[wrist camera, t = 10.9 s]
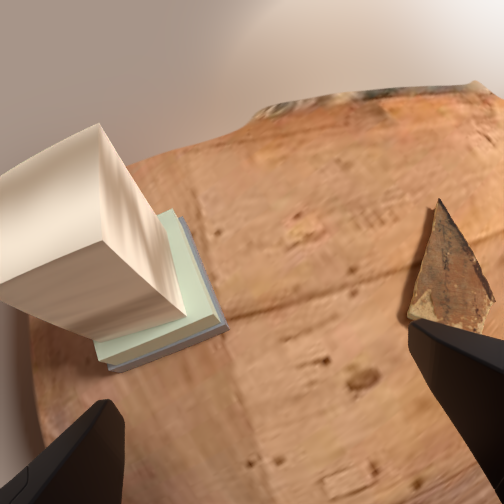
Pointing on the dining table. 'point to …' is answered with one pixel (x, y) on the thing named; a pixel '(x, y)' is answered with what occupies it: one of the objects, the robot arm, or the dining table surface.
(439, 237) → the shard
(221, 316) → the tower bottom slab
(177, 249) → the tower top slab
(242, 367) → the dining table surface
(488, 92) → the dining table surface
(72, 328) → the maple column
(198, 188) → the dining table surface
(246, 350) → the dining table surface
